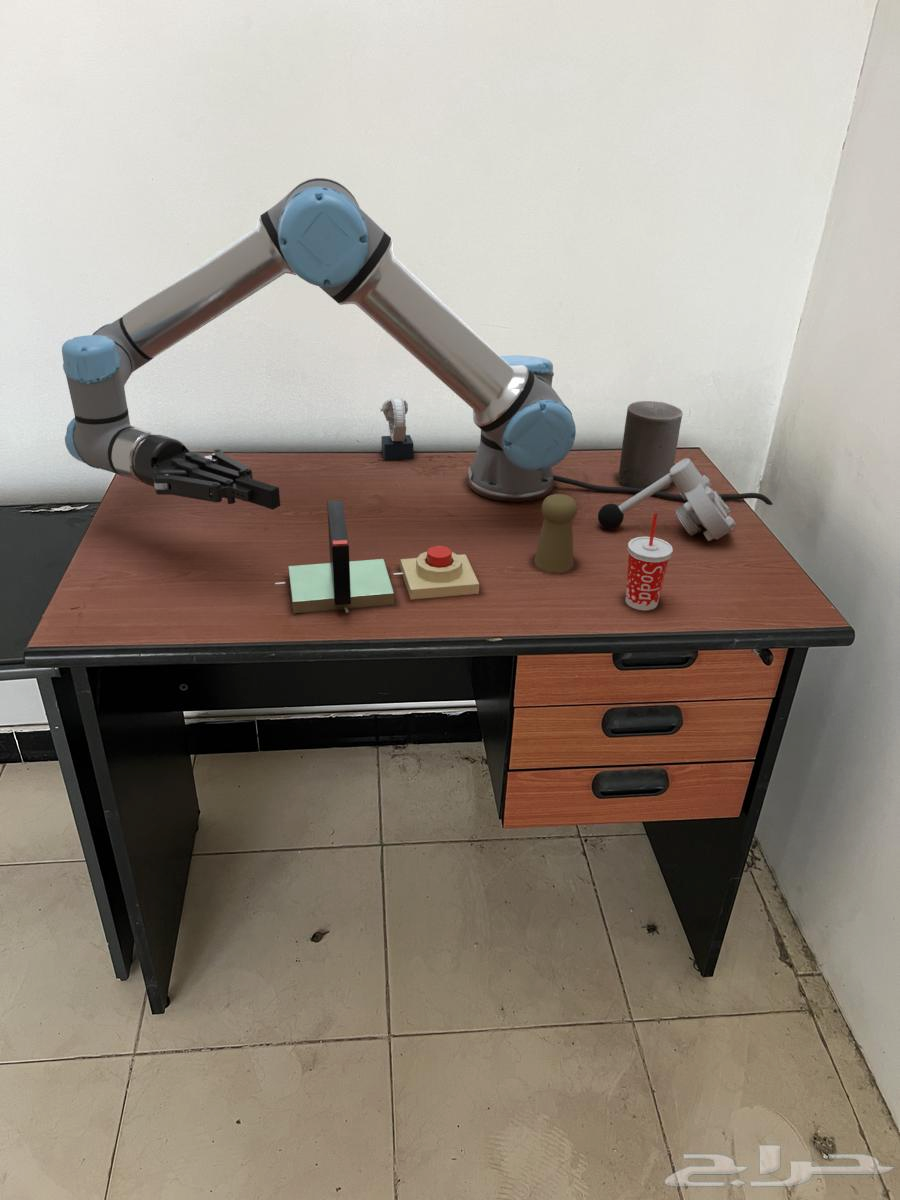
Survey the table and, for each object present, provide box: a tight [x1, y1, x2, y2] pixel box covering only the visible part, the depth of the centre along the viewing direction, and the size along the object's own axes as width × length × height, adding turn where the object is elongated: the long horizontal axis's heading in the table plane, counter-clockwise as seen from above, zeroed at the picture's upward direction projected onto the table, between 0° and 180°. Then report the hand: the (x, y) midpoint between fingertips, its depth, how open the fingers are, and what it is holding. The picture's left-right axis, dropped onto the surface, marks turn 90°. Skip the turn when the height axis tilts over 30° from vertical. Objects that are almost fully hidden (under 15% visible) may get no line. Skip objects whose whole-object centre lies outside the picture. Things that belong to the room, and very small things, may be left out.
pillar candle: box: [617, 400, 684, 492], centre depth 161 cm, size 10×10×15 cm
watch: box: [379, 396, 414, 461], centre depth 169 cm, size 6×8×11 cm
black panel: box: [326, 499, 351, 605], centre depth 125 cm, size 14×2×9 cm, turn 9°
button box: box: [399, 551, 480, 600], centre depth 131 cm, size 10×9×4 cm
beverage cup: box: [624, 512, 674, 611], centre depth 124 cm, size 6×6×14 cm
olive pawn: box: [533, 493, 578, 574], centre depth 134 cm, size 6×6×11 cm
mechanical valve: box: [597, 457, 736, 542], centre depth 146 cm, size 10×18×15 cm
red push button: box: [426, 545, 453, 568], centre depth 129 cm, size 4×4×2 cm
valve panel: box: [274, 558, 403, 615], centre depth 128 cm, size 18×18×2 cm
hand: (275, 498), depth 120 cm, fingers closed
